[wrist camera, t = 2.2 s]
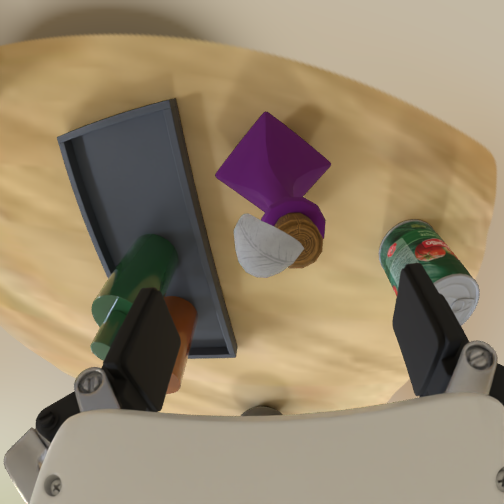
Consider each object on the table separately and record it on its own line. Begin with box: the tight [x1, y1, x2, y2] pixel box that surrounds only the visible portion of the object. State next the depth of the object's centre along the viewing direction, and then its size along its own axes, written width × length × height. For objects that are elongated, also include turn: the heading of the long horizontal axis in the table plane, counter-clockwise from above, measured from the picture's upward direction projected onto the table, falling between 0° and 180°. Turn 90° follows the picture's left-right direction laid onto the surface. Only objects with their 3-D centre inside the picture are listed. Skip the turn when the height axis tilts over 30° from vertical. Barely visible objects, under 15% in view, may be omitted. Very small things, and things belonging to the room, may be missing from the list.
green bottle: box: [91, 234, 179, 361], centre depth 29 cm, size 6×6×15 cm
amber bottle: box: [164, 296, 198, 394], centre depth 34 cm, size 6×6×15 cm
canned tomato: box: [379, 220, 479, 325], centre depth 29 cm, size 8×8×11 cm
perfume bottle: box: [215, 112, 331, 278], centre depth 22 cm, size 8×8×18 cm
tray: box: [57, 98, 237, 359], centre depth 35 cm, size 34×14×2 cm, turn 9°
